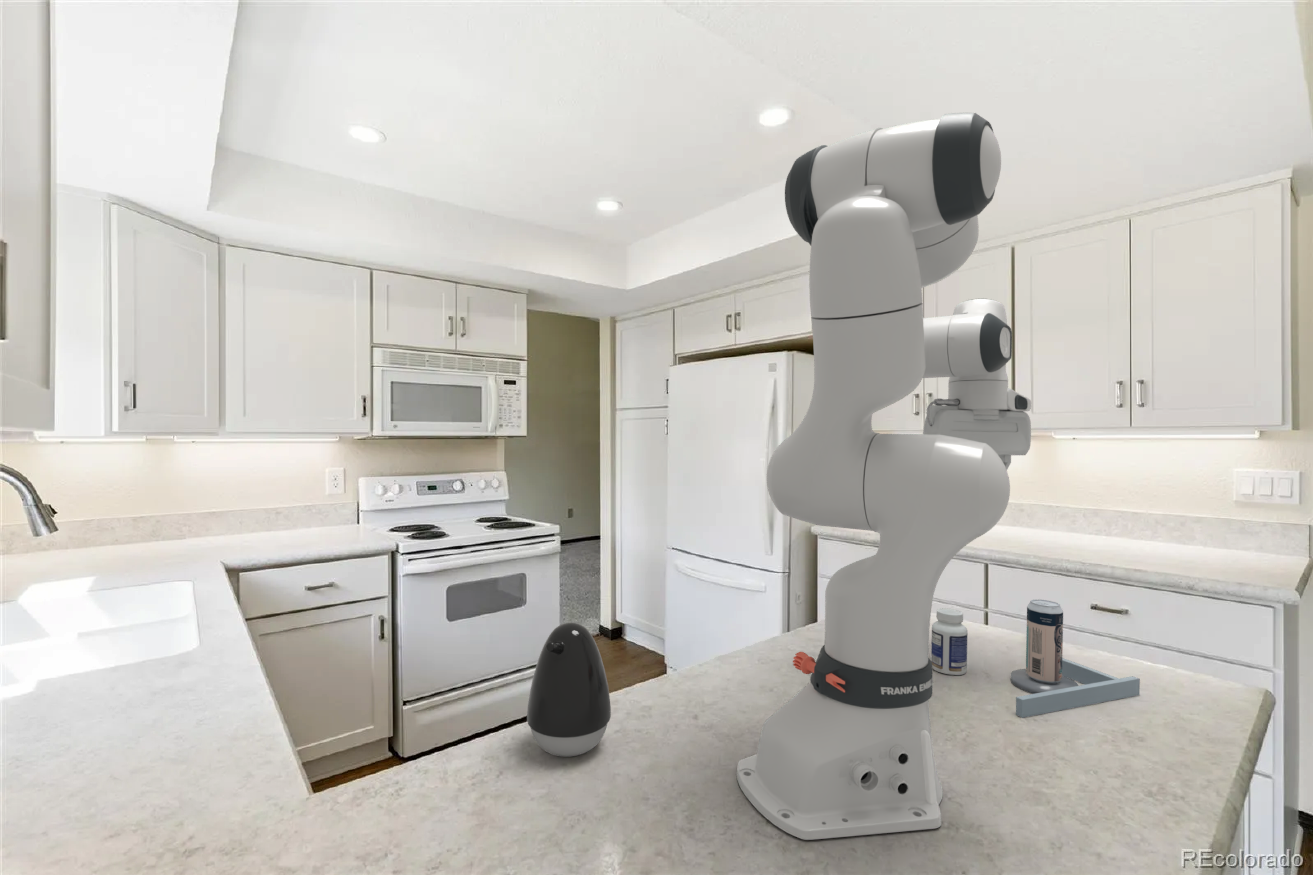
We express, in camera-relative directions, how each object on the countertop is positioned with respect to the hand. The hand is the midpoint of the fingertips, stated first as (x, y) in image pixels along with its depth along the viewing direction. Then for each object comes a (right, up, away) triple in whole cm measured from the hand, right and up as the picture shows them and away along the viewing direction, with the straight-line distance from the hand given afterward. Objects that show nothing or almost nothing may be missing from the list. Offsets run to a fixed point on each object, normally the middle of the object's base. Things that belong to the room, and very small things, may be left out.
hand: (975, 483), depth 104 cm
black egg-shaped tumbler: (-64, -31, -27) cm, 76 cm away
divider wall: (+6, -31, -7) cm, 33 cm away
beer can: (+7, -30, -6) cm, 32 cm away
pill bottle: (-5, -31, 0) cm, 32 cm away
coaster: (+7, -31, -6) cm, 33 cm away
